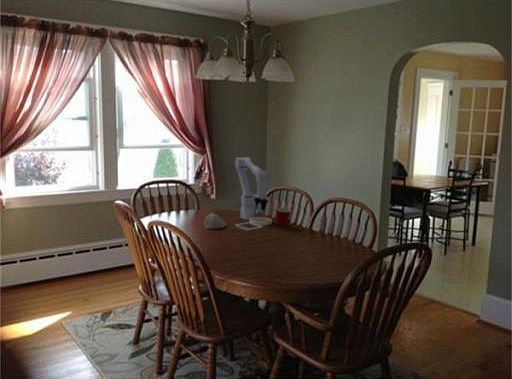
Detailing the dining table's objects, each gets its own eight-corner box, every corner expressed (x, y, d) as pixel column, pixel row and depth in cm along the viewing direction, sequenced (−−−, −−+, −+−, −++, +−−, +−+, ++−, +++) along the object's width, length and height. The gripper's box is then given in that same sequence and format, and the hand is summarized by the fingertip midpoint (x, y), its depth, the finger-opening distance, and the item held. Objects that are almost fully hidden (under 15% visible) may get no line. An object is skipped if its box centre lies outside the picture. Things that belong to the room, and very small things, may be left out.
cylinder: (256, 212, 313) (256, 203, 312) (261, 211, 316) (261, 202, 315) (260, 213, 310) (260, 204, 309) (265, 212, 313) (265, 203, 312)
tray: (234, 227, 304) (234, 224, 303) (248, 224, 312) (248, 222, 311) (248, 231, 293) (248, 228, 293) (262, 228, 301) (263, 226, 301)
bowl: (245, 223, 315) (245, 218, 315) (261, 220, 325) (261, 216, 324) (259, 227, 304) (260, 223, 304) (276, 224, 314) (276, 220, 314)
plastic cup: (291, 229, 302) (292, 210, 300) (274, 228, 302) (275, 210, 300) (290, 225, 313) (291, 207, 311) (274, 224, 313) (274, 207, 311)
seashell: (228, 227, 304) (228, 212, 303) (211, 230, 294) (211, 214, 293) (215, 223, 313) (215, 209, 311) (199, 226, 303) (199, 211, 301)
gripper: (249, 188, 313) (249, 208, 315) (264, 191, 303) (263, 212, 305) (257, 187, 318) (257, 207, 320) (272, 190, 307) (271, 210, 309)
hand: (260, 209), depth 313 cm, fingers closed on cylinder, 4 cm apart
